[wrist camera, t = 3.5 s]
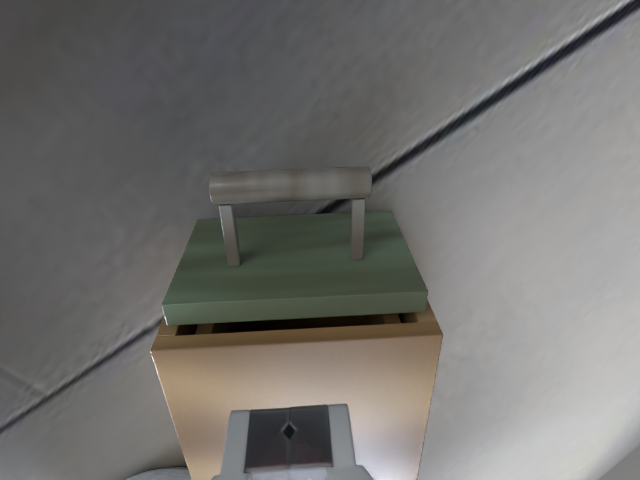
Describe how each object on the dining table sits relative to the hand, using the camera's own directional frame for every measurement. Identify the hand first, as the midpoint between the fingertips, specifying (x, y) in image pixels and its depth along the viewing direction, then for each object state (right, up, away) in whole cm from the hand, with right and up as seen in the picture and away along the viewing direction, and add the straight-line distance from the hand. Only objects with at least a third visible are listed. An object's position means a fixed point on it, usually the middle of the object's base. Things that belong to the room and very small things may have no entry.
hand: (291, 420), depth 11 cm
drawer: (-1, +2, +16) cm, 16 cm away
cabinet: (-1, -1, +19) cm, 19 cm away
